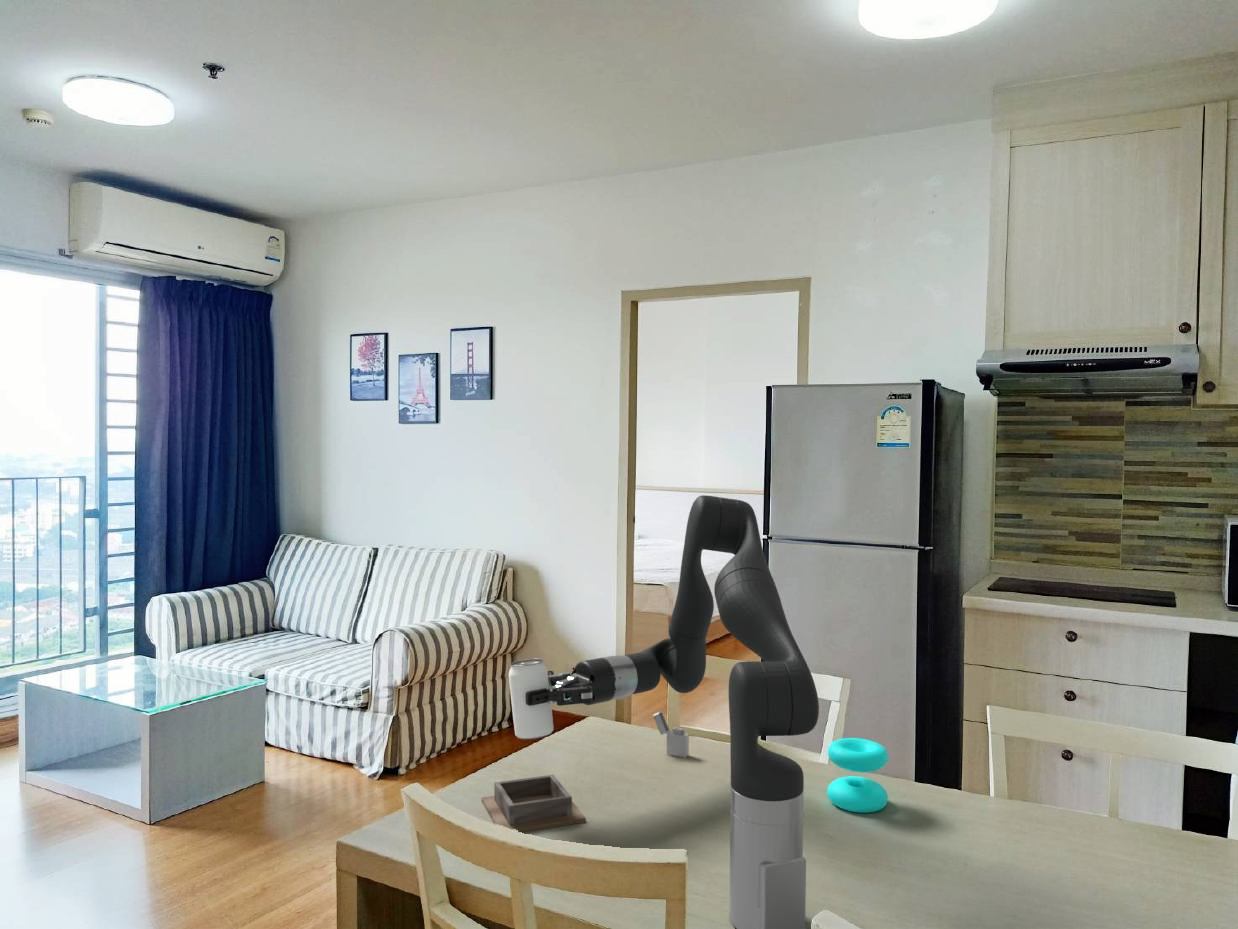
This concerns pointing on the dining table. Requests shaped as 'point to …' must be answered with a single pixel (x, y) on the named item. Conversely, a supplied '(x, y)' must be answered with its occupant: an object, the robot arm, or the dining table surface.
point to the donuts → (853, 789)
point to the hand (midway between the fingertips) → (520, 695)
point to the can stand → (532, 804)
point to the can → (526, 718)
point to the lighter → (673, 737)
